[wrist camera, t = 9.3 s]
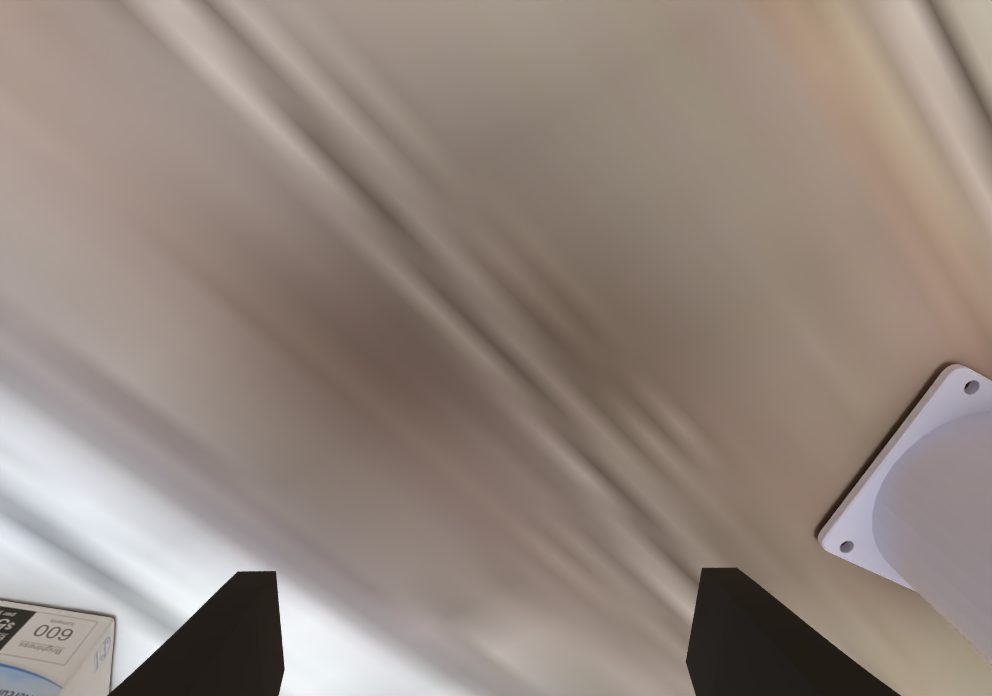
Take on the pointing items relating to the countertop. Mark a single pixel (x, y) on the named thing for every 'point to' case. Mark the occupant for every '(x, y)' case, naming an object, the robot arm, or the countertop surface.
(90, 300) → the countertop surface
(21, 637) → the light bulb box
